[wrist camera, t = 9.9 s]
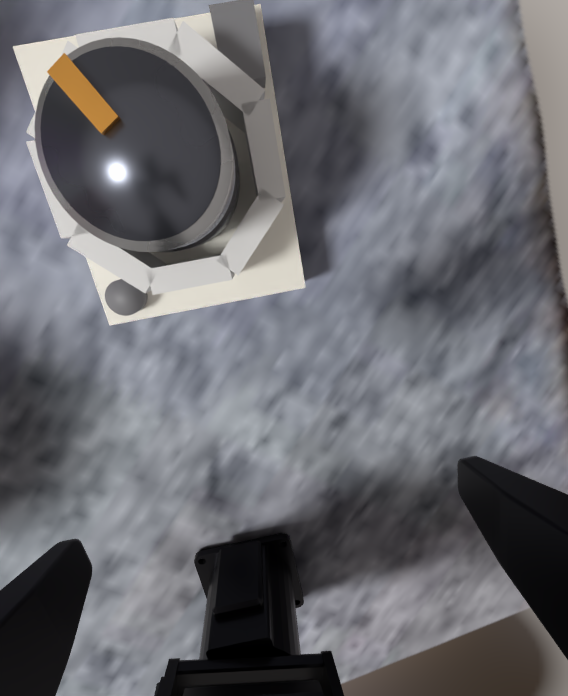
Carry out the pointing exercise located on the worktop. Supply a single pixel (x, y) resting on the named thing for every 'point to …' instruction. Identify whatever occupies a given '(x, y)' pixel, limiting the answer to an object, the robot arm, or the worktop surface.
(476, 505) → the robot arm
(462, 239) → the worktop surface
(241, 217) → the mount block
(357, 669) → the worktop surface
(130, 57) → the lens
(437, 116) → the worktop surface
